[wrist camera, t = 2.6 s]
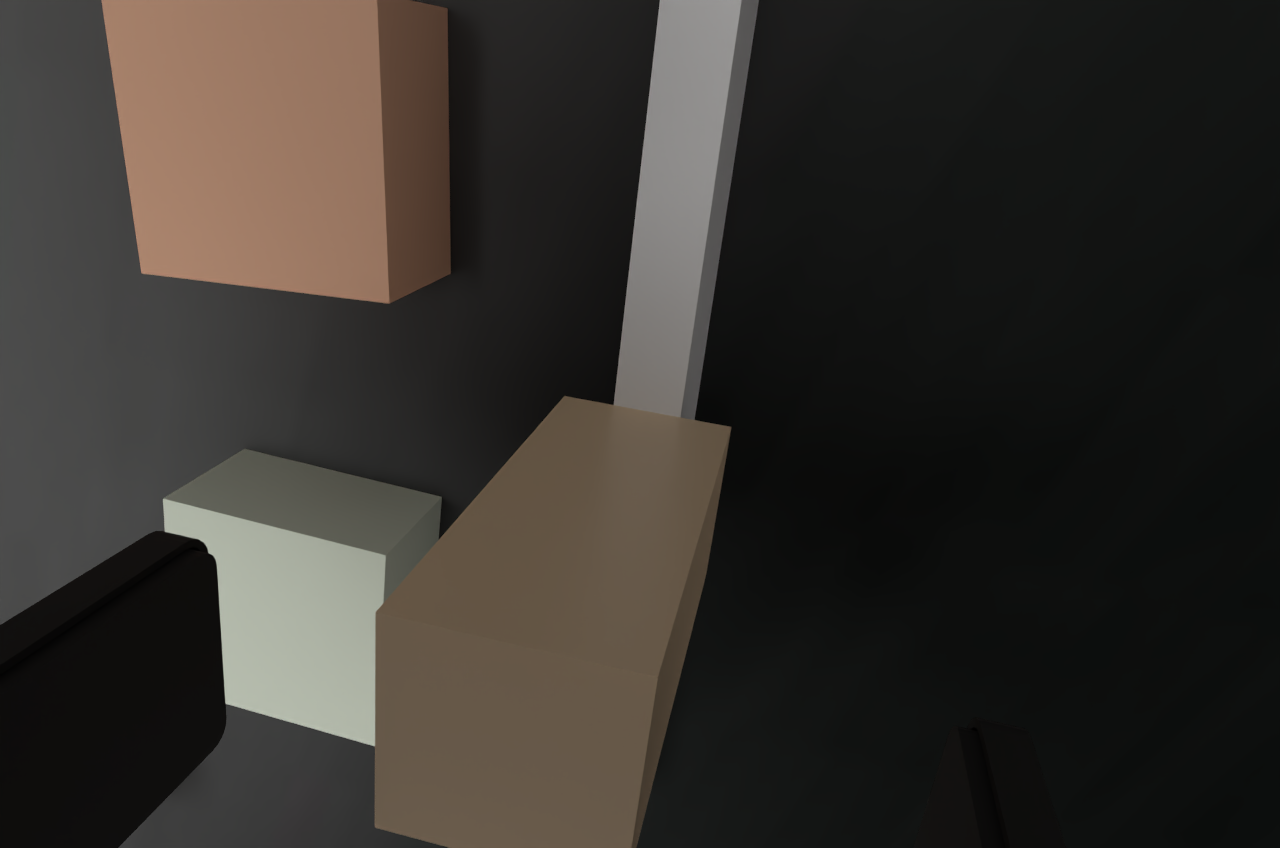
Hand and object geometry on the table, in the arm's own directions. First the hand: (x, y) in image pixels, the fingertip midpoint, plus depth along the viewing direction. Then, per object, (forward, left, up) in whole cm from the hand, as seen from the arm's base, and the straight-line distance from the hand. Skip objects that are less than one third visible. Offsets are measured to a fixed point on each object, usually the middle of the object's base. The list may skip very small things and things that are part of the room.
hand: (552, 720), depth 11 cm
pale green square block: (+5, -8, -9) cm, 13 cm away
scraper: (-1, 0, -9) cm, 9 cm away
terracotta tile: (-6, -8, -9) cm, 13 cm away
